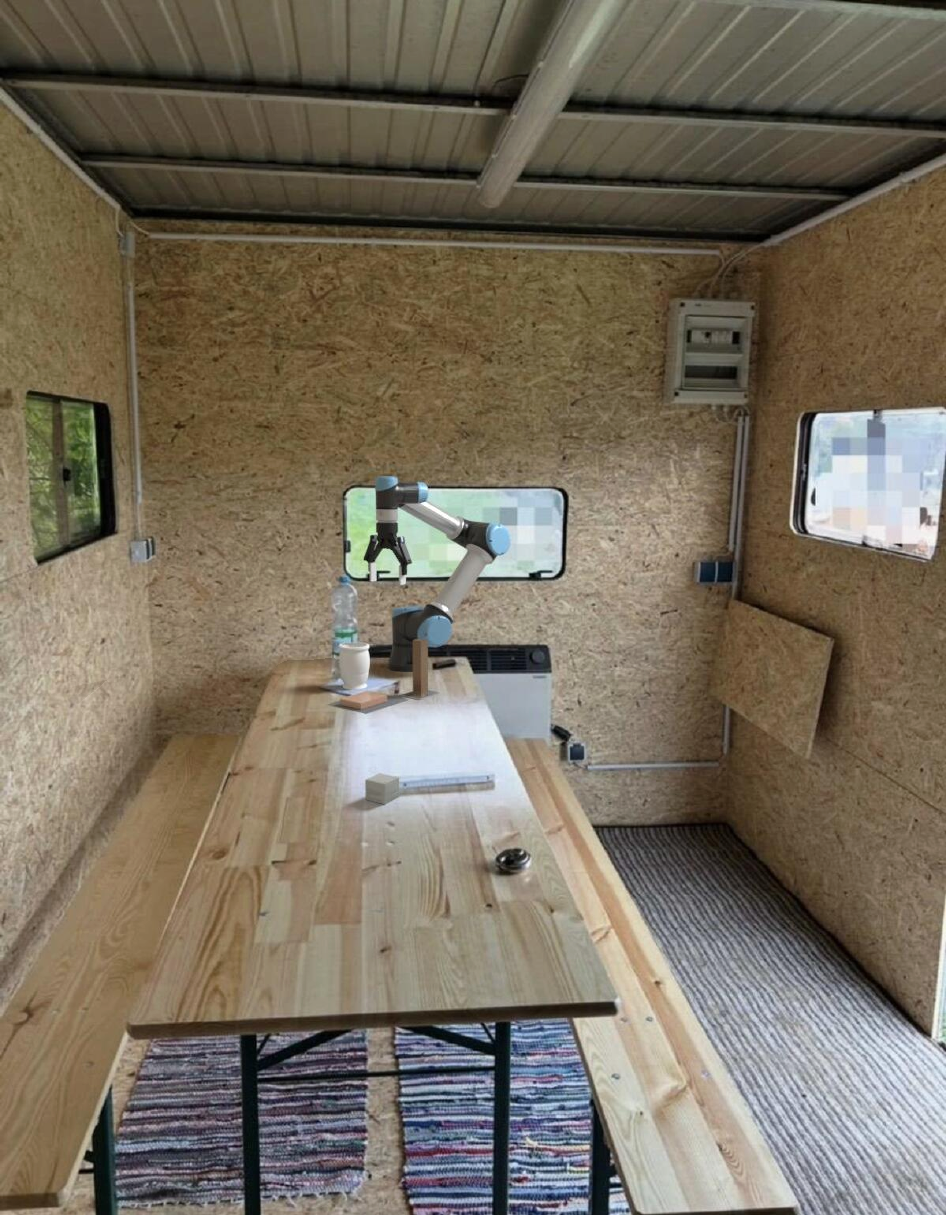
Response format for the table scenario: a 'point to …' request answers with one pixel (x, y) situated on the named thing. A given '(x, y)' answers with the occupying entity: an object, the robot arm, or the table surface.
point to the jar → (354, 664)
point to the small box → (382, 788)
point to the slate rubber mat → (390, 702)
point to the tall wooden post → (420, 671)
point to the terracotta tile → (363, 700)
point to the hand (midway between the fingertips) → (387, 583)
